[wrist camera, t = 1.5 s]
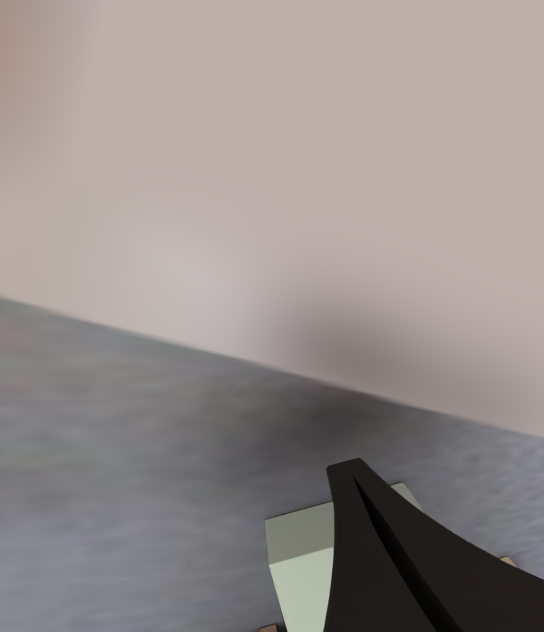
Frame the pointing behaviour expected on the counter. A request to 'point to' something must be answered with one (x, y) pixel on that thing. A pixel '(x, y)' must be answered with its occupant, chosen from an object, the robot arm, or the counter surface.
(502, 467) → the counter surface
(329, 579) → the pale green slab
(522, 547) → the counter surface
